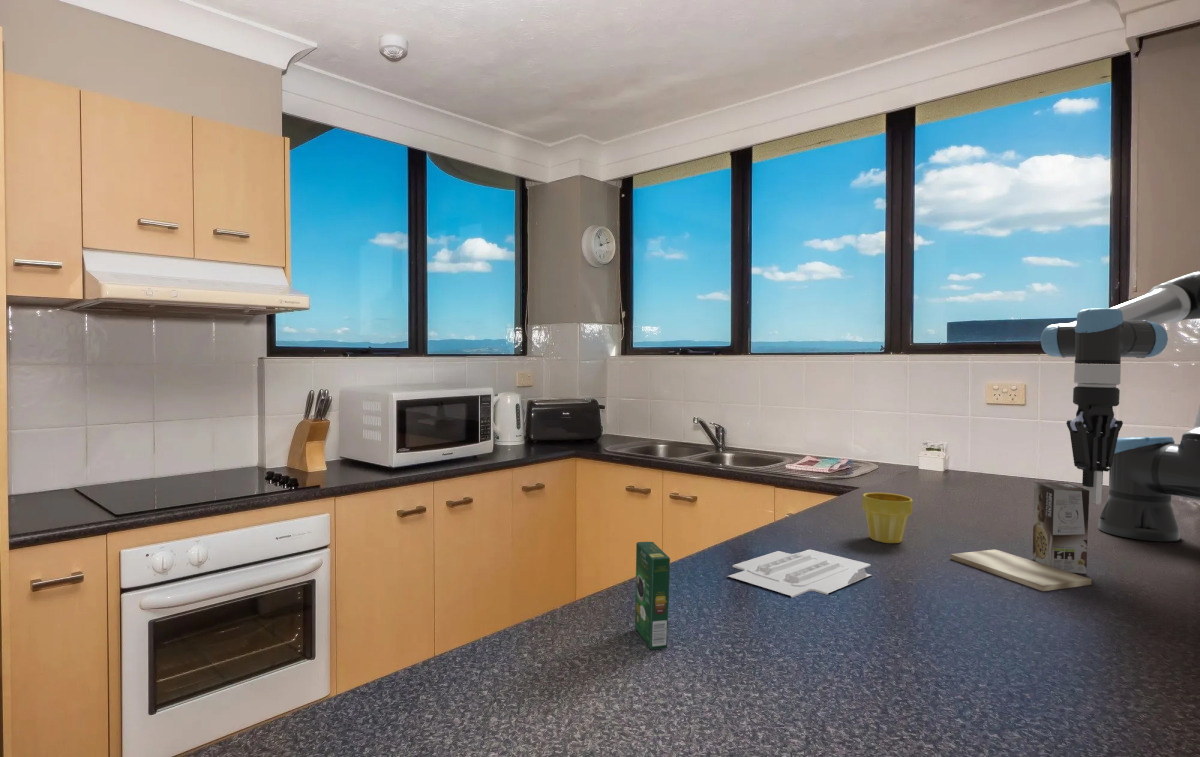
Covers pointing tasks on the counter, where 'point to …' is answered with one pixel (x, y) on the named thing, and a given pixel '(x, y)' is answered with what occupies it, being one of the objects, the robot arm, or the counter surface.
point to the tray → (801, 572)
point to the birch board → (1021, 570)
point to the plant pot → (886, 515)
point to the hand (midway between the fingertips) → (1091, 502)
